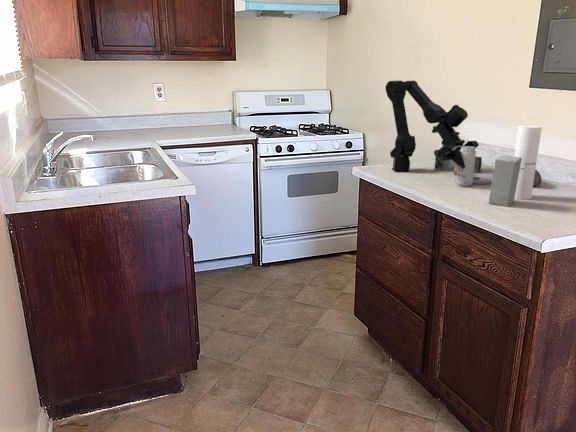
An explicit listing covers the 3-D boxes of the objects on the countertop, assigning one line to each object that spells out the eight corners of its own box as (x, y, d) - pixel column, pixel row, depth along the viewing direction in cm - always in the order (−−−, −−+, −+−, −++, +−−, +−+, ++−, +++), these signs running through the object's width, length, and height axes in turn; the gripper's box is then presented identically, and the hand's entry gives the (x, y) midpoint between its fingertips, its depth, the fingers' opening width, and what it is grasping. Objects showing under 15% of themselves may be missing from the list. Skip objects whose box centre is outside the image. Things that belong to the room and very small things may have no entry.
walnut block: (459, 176, 204) (460, 167, 203) (453, 174, 208) (454, 165, 207) (467, 175, 205) (468, 166, 204) (461, 174, 209) (462, 164, 208)
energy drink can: (452, 184, 191) (456, 146, 186) (465, 183, 193) (468, 145, 188) (462, 188, 185) (466, 149, 181) (475, 186, 187) (479, 148, 183)
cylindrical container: (533, 200, 169) (544, 127, 161) (511, 199, 170) (521, 127, 162) (528, 194, 175) (538, 125, 168) (507, 193, 177) (516, 124, 169)
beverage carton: (437, 166, 224) (438, 152, 222) (481, 170, 216) (482, 155, 214) (433, 170, 218) (435, 155, 216) (479, 174, 209) (481, 159, 207)
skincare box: (495, 198, 171) (500, 154, 166) (516, 202, 166) (523, 156, 162) (487, 203, 165) (492, 157, 160) (509, 207, 160) (515, 160, 155)
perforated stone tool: (545, 189, 183) (548, 171, 181) (531, 189, 183) (534, 171, 181) (525, 180, 198) (528, 163, 196) (512, 180, 198) (515, 163, 195)
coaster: (469, 185, 190) (469, 183, 190) (458, 178, 200) (458, 177, 200) (497, 184, 190) (497, 182, 190) (484, 178, 201) (484, 176, 201)
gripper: (450, 145, 202) (470, 175, 197) (420, 149, 192) (439, 181, 187) (468, 128, 194) (489, 159, 188) (437, 131, 184) (458, 165, 178)
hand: (469, 166), depth 186 cm, fingers closed on energy drink can, 6 cm apart
